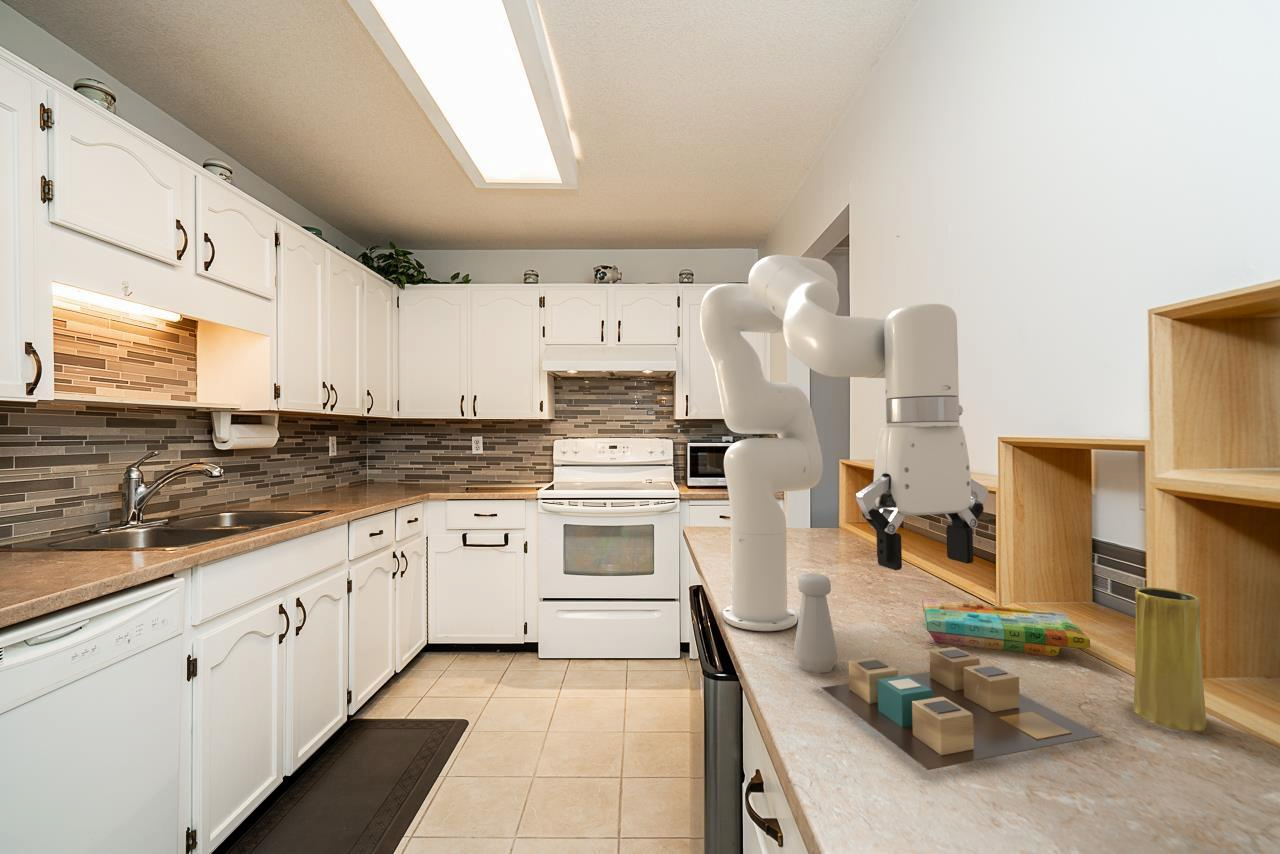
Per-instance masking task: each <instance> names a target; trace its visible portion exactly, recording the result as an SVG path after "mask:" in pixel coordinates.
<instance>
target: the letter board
mask: <svg viewBox="0 0 1280 854" xmlns="http://www.w3.org/2000/svg"><path fill="white" fill-rule="evenodd" d="M906 675H907V676H909V677H911V678H913V679H914V680H916V681H918V682H919V683H921V684H923V685H925V686H926V687H928V688H930V689H931V690H932V697H933V698H937V697H945V698H947V699H948V700H950V701H952V702H953V703H955V704H957V705H958V706H960V707H962V708H964V709H965V710H967V711H969V712H970V713H972V714H973V734H974V749H973V750H967V751H962V752H957V753H951V754H946V755H940V754H939V753H937V752H936V751H934V750H933V749H932V748H930V747H929V746H927V745H926V744H925V743H923V742H922V741H920V740H919V739H918V738H916V737H915V736H914V735H913V726H909V727H903V728H902V727H901V726H899V725H898V724H897V723H895V722H894V721H892V720H891V719H890V718H888V717H887V716H885V715H884V714H883V713H881V712H880V711H879V710H878V703H873V704H869V703H868V702H866V701H865V700H863V699H862V698H861V697H859V696H858V695H856V694H855V693H854V692H852V691H851V690H850V689H849V683H843V684H836V685H829V686H822V687H820V688H821V689H822V690H823V691H824V692H826V694H828V695H829V696H830V697H832V698H833V699H835V700H836V701H837V702H838V703H840V704H841V705H843V706H844V707H846V709H847V710H849V711H850V712H851V713H852V714H854V715H855V716H856V717H858V718H859V719H861V720H862V721H863V722H864V723H866V724H867V725H868V726H870V727H871V728H872V729H873V730H875V731H876V732H877V733H878V734H879V735H881V736H883V737H884V738H885V739H887V740H888V741H889V742H890V743H891V744H893V745H894V746H896V747H897V748H898V749H899V750H901V751H902V752H903V753H904V754H905V755H907V756H908V757H910V758H911V759H912V760H914V761H915V762H916V763H917V764H918V765H920V766H921V767H922V768H924V769H925V770H926V771H930V770H934V769H935V770H936V769H940V768H945V767H949V766H956V765H960V764H965V763H971V762H975V761H976V762H977V761H980V760H986V759H991V758H995V757H1002V756H1006V755H1012V754H1015V753H1016V754H1017V753H1021V752H1027V751H1032V750H1037V749H1043V748H1047V747H1053V746H1058V745H1064V744H1068V743H1074V742H1078V741H1084V740H1088V739H1094V738H1098V737H1099V738H1100V737H1103V734H1101V733H1098V732H1097V731H1096V730H1095V731H1094V730H1093V729H1090V728H1088V727H1086V726H1084V725H1083V724H1080V723H1079V722H1077V721H1074V720H1072V719H1070V718H1069V717H1066V716H1064V715H1063V714H1060V713H1058V712H1057V711H1054V710H1053V709H1050V708H1048V707H1046V706H1044V705H1042V704H1040V703H1038V702H1036V701H1034V700H1032V699H1030V698H1028V697H1026V696H1024V695H1022V694H1020V693H1019V706H1020V707H1019V708H1014V709H1008V710H1002V711H996V712H991V711H989V710H987V709H985V708H983V707H982V706H980V705H978V704H976V703H974V702H973V701H971V700H969V699H967V698H966V697H964V689H963V690H957V691H953V690H951V689H949V688H948V687H946V686H944V685H942V684H940V683H939V682H937V681H935V680H933V679H932V678H930V671H928V672H927V671H926V672H920V673H914V674H906Z"/></svg>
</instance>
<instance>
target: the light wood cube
mask: <svg viewBox="0 0 1280 854" xmlns="http://www.w3.org/2000/svg"><path fill="white" fill-rule="evenodd" d="M898 676H899V670H898V669H897V668H895V667H894V666H891V665H890V664H888V663H887V662H885V661H883V660H881V659H880V658H879V657H877V656H875V657H869V658H867V657H866V658H860V659H852V660H848V684H849V689H850V690H851V691H852V692H854V693H855V694H856V695H858V696H859V697H861V698H862V699H863V700H865V701H866V702H868V703H869V704H873V703H878V679H884V678H891V677H898Z"/></svg>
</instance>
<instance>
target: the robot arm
mask: <svg viewBox="0 0 1280 854" xmlns="http://www.w3.org/2000/svg"><path fill="white" fill-rule="evenodd" d="M749 271H750V272H749V274H748V278H747V279H748V280H747V281H748V283H723V284H719V285H716V286H713V287H712V288H710V289H709V290H708V291H707V292H706V293H705V294H704V297H702V301H701V305H700V309H699V310H700V311H699V325H700V326H699V327H700V331H701V333H700V334H701V336H702V340H703V343H704V345H705V348H706V350H707V353H708V355H709V357H710V360H711V363H712V366H713V368H714V374H715V380H716V385H717V390H718V395H719V401H720V406H721V412H722V416H723V420H724V423H725V425H726V426H727V428H728V429H729V430H730V431H731V432H733V433H736V434H743V435H770V434H771V435H774V434H775V435H777V437H754V438H744V439H741V440H740V439H739V440H738V441H736V442H734V443H732V444H731V445H730V446H729V447H728V448H727V449H726V451H725V454H724V457H723V470H724V477H725V481H726V486H727V492H728V501H729V519H730V521H729V523H730V525H729V526H730V572H731V573H730V577H731V578H730V579H731V581H730V583H731V585H730V587H731V589H730V593H729V594H731V604H730V605H728V606H726V607H725V608H724V609H723V610H722V618H723V620H724V621H725V622H726V623H727V624H728V625H731V626H733V627H735V628H739V629H742V630H747V631H754V632H755V631H756V632H776V631H785V630H787V629H790V628H793V627H794V626H795V625H796V624H797V623H798V615H797V613H796V612H795V611H794V610H793V609H791V608H789V607H788V555H787V553H788V551H787V521H786V520H787V519H786V515H785V512H784V511H783V508H782V507H781V505H780V503H779V502H778V500H777V499H776V497H775V495H774V494H775V493H783V492H799V491H807V490H810V489H812V488H815V487H816V486H817V485H818V484H819V483H820V481H821V479H822V476H823V472H824V462H823V461H824V460H823V454H822V450H821V449H822V448H821V445H820V442H819V436H818V432H817V428H816V424H815V419H814V415H813V410H812V408H811V404H810V401H809V399H808V397H807V395H806V392H804V390H803V389H802V388H801V387H799V386H798V385H796V384H794V383H791V382H781V381H779V382H778V381H768V380H767V379H766V378H765V375H764V372H763V368H762V363H761V359H760V356H759V354H758V353H757V351H756V350H755V349H754V347H753V346H752V344H751V343H750V342H749V341H748V340H747V339H746V338H744V336H743V335H742V334H741V332H743V333H745V332H748V333H764V334H782V333H783V337H784V341H785V344H786V347H787V349H788V350H789V352H790V353H791V354H792V355H793V356H794V357H795V358H796V359H798V360H799V361H800V362H801V363H802V364H803V365H805V366H806V367H808V369H811V370H812V371H814V372H815V373H817V374H820V375H823V376H826V377H832V378H837V377H838V378H840V377H841V378H867V379H884V380H885V382H884V383H885V411H886V413H885V416H886V417H885V418H886V420H885V421H886V423H885V424H886V427H880V430H879V432H878V437H877V441H876V447H875V455H874V465H873V466H874V467H873V481H872V482H871V483H870V484H869V485H867V486H866V487H864V488H863V489H861V490H860V491H858V492H857V493H856V494H855V500H856V502H857V505H858V506H859V509H860V510H861V511H862V512H861V513H862V517H863V518H864V519H865V520H866V521H867V523H868V524H869V525H870V528H871V529H872V531H876V557H877V564H878V566H880V567H884V568H885V569H886V568H887V569H890V570H893V571H900V570H901V569H902V568H903V556H902V555H903V554H902V553H903V552H902V550H903V549H902V548H903V547H902V535H901V533H898V532H897V531H898V529H899V528H900V526H901V524H902V523H903V521H904V520H905V518H906V517H907V516H908V517H909V516H910V517H911V516H915V517H916V516H929V515H930V516H931V515H945V517H946V518H947V519H948V521H949V522H950V523H951V524H946V529H945V531H946V557H947V558H948V559H949V560H952V561H956V562H960V563H964V564H973V563H974V535H973V533H974V531H973V529H976V528H977V526H978V519H979V518H980V516H982V513H983V512H984V510H985V508H984V505H985V503H986V500H987V498H988V495H989V489H988V487H986V486H984V485H983V484H981V483H979V482H978V481H976V480H974V479H973V478H971V467H970V458H969V451H968V445H967V441H966V435H965V432H964V428H963V427H964V426H962V425H960V416H962V414H963V412H964V409H963V406H962V405H961V404H960V397H959V395H960V394H959V393H960V391H959V389H960V388H959V354H958V353H959V351H958V347H959V346H958V321H957V320H958V319H957V314H956V312H955V310H954V309H953V307H951V306H949V305H946V304H941V303H920V304H913V305H907V306H901V307H899V308H896V309H894V310H892V311H891V312H890V313H888V314H887V316H886V317H885V318H876V317H862V316H851V315H850V316H848V315H846V316H845V315H836V314H837V312H838V309H839V305H840V295H839V291H838V288H839V287H838V285H839V283H838V282H839V281H838V275H837V272H836V270H835V268H834V267H833V266H832V265H831V264H830V263H829V262H828V261H826V260H824V259H820V258H814V257H813V258H812V257H805V256H796V255H785V254H773V255H768V256H765V257H763V258H761V259H760V260H758V261H757V262H756V263H755V264H754V265H753V266H752V267H751V269H750V270H749Z"/></svg>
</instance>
